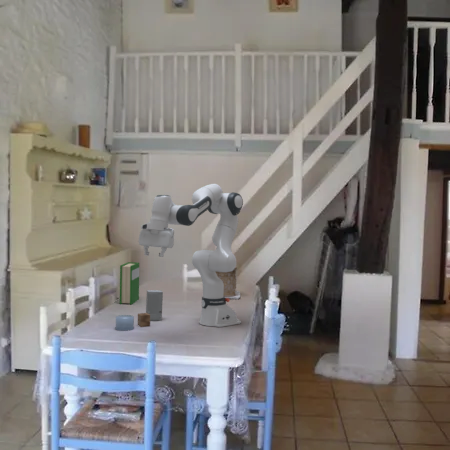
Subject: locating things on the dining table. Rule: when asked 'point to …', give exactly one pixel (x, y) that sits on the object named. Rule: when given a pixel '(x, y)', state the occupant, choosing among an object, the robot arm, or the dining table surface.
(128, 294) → the hardback book
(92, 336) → the dining table surface
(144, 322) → the walnut block
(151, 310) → the skincare box
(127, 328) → the canister
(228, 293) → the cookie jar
